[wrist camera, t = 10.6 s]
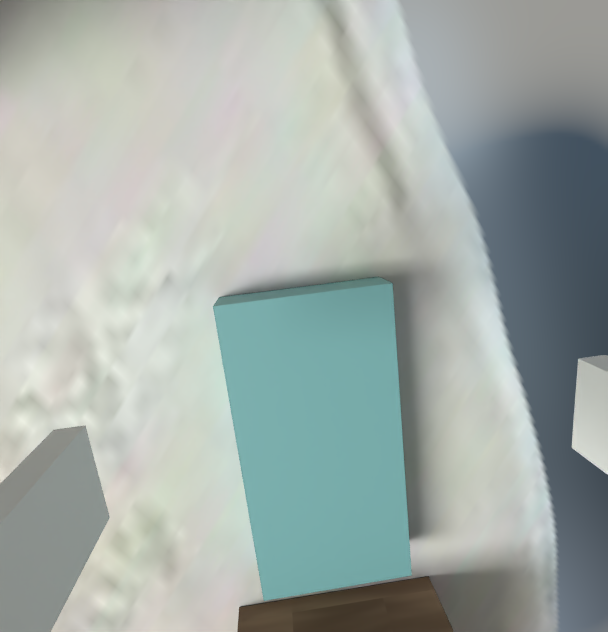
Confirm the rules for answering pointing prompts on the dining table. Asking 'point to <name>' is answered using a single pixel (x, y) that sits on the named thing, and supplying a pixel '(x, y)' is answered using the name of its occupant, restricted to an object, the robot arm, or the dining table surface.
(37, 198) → the dining table surface
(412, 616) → the walnut box
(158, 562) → the dining table surface
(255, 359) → the lid
